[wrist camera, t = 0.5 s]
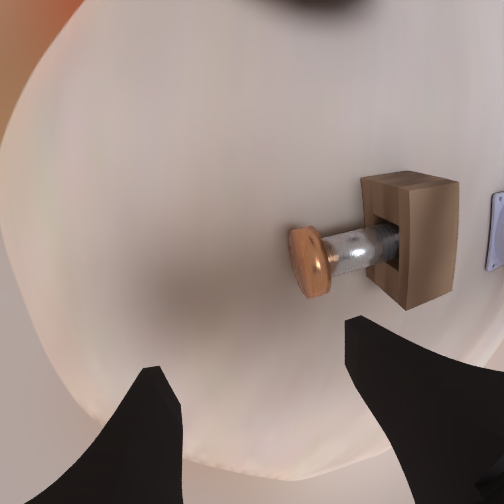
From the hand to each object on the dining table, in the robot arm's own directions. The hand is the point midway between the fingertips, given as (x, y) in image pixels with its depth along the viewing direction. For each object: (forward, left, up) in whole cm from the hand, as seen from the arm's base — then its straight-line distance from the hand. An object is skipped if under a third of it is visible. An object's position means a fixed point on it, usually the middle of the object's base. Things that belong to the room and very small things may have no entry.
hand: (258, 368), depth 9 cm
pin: (-6, 0, -9) cm, 11 cm away
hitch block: (-11, 0, -9) cm, 14 cm away
